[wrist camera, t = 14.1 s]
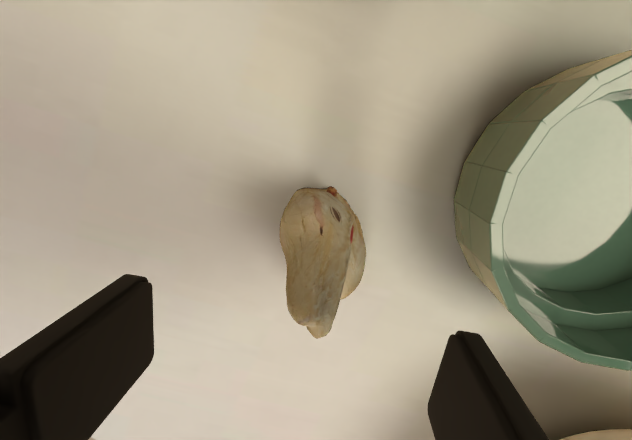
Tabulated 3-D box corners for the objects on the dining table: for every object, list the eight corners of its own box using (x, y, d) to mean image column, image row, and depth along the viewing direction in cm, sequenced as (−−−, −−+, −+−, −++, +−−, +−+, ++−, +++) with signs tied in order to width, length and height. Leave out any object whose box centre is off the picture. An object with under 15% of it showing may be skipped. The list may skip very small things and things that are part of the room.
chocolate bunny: (387, 194, 20) (424, 250, 10) (351, 297, 22) (353, 423, 12) (305, 170, 20) (265, 204, 10) (277, 276, 22) (224, 383, 13)
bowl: (493, 44, 17) (558, 5, 12) (787, 81, 16) (1000, 57, 11) (427, 288, 21) (452, 339, 16) (657, 328, 20) (765, 396, 15)
